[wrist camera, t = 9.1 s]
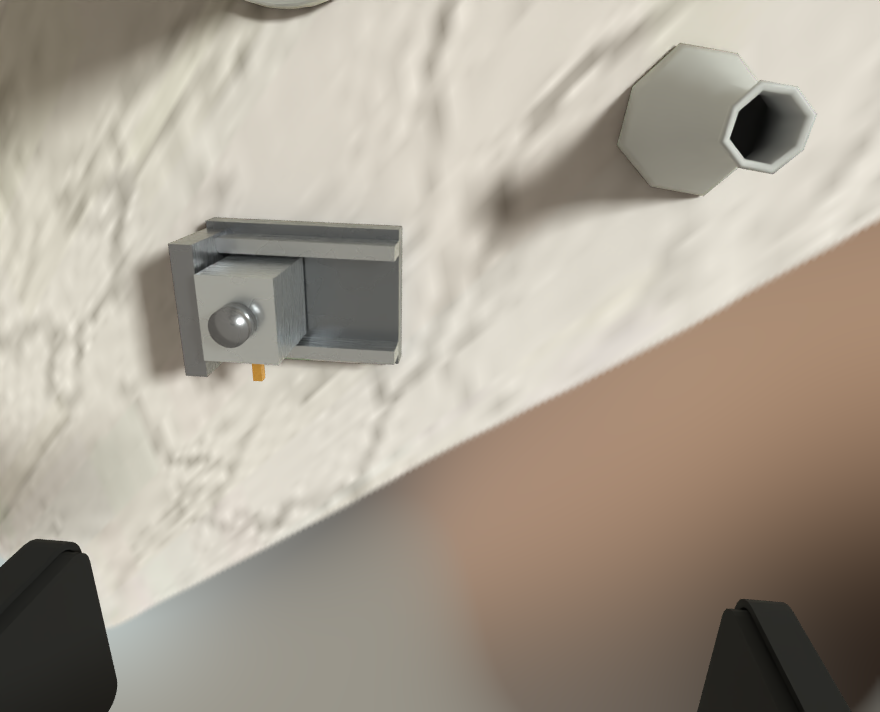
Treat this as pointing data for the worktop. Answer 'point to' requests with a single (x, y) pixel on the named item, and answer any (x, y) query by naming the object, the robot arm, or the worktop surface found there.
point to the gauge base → (306, 285)
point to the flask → (710, 121)
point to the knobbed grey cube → (251, 309)
